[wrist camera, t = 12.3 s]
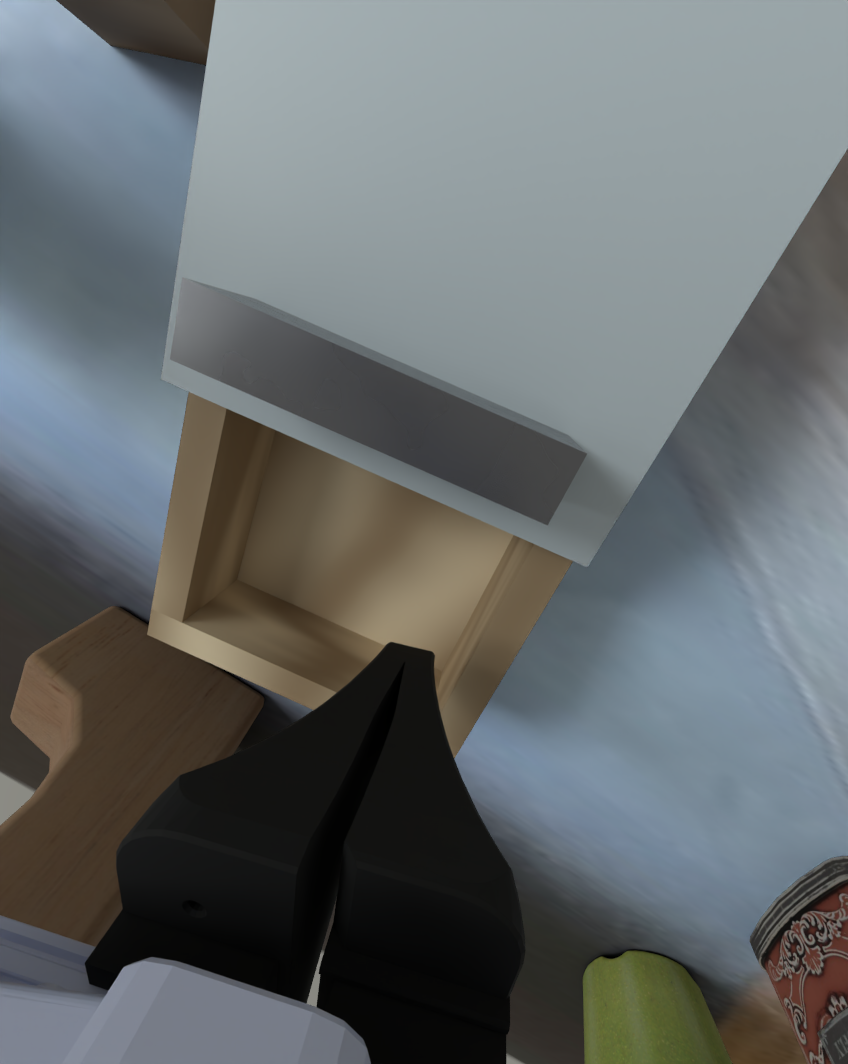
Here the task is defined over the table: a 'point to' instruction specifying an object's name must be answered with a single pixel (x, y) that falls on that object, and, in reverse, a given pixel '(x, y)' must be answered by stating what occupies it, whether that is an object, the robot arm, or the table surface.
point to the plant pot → (647, 1014)
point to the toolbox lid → (495, 230)
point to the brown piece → (334, 571)
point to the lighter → (811, 959)
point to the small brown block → (150, 25)
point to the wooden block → (106, 762)
